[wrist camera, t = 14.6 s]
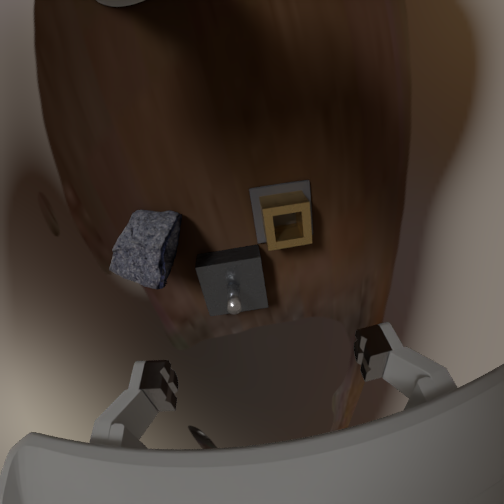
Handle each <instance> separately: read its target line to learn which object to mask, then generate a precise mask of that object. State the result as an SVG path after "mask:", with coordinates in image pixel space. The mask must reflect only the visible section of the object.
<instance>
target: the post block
mask: <svg viewBox="0 0 504 504" xmlns="http://www.w3.org/2000/svg"><path fill="white" fill-rule="evenodd" d="M195 268H196V272H197V275H198V279H199V282H200V285H201V288H202V292H203V295H204V298H205V301H206V304H207V308H208V311H209V314H210V316H215V315H222V314H229V313H230V314H238V313H240V312H242V311H248V310H255V309H261V308H267V307H268V302H267V295H266V289H265V282H264V276H263V270H262V263H261V257H260V252H259V247H258V244H257V245H251V246H245V247H239V248H233V249H228V250H222V251H216V252H210V253H204V254H198V255H197V261H196V267H195Z"/></svg>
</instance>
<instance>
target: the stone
mask: <svg viewBox="0 0 504 504" xmlns="http://www.w3.org/2000/svg"><path fill="white" fill-rule="evenodd" d="M181 219H182V214H181V215H180V214H179V213H177V212H174V211H165V212H154V211H148V210H136V211H135V212H134V213H133V214H132V216H131V218H130V221H129V223H128V225H127V226H126V227H125V229H124V231H123V232H122V234H121V235H120V236H119V238H118V240H117V242H116V244H115V245H114V248H113V249H112V250H113V258H112V261H111V265H110V270H111V271H112V272H114V273H115V274H117V275H120V276H121V277H123V278H125V279H129V280H131V281H134V282H137V283H139V284H141V285H143V286H145V287H150V288H154V289H161V288H163V287H165V286H166V285H165V284H167V283H166V280H167V278H168V276H169V274H170V271H171V267H172V266H173V262H174V259H175V257H176V252H177V246H178V239H179V233H180V226H181Z"/></svg>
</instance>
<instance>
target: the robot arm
mask: <svg viewBox="0 0 504 504" xmlns="http://www.w3.org/2000/svg"><path fill="white" fill-rule="evenodd" d="M96 1H98V2H99V3H101V4H103V5H107V6H112V7H122V6H128V5H133V4H136V3H139V2H142V1H144V0H96ZM355 337H356V339H357V340H356V341H355V342H354V354H355V358H356V361H357V363H359V364H360V365H361V369H360V371H361V373H362V376H363V378H364V381H365V382H366V381H370V380H374V379H377V378H381V377H383V379H385V380H386V381H387V382H388V383H390V384H391V385H392V386H394V387H395V388H396V389H397V390H399V391H400V392H401V393H403V394H404V395H405V396H406V397H408V398H409V401H408V403H407V405H406V407H405V409H404V411H401V412H398V413H395V414H392V415H390V416H386V417H383V418H380V419H377V420H374V421H370V422H367V423H364V424H360V425H356V426H353V427H349V428H345V429H341V430H337V431H333V432H329V433H325V434H320V435H315V436H310V437H305V438H300V439H294V440H288V441H282V442H275V443H268V444H260V445H252V446H242V447H232V448H216V449H184V450H174V449H148V448H147V447H146V446H145V445H144V444H143V443H142V442H140V441H139V439H140V438H141V436H142V435H143V434H144V432H145V431H146V429H147V428H148V427H149V425H150V424H151V422H152V421H153V419H154V418H155V417H156V415H157V414H158V411H175V410H176V403H177V398H176V396H175V393H176V392H177V391H178V378H177V375H176V373H175V371H174V370H172V369H171V364H170V362H169V360H154V361H153V360H152V361H136V363H135V364H134V367H133V371H132V375H131V379H130V383H129V388H128V390H125V391H124V392H123V393H122V394H121V395H120V396H119V397H118V398H117V399H116V400H115V401H114V402H113V403H112V404H111V405H110V406H109V407H108V408H107V409H106V410H105V411H104V412H103V413H102V414H101V415H100V416H99V417H98V418H97V419H96V420H95V423H94V427H93V431H92V435H91V439H90V443H85V442H80V441H74V440H68V439H63V438H58V437H53V436H49V435H45V434H41V433H36V432H31V433H29V434H28V435H26V436H25V437H23V438H22V439H21V440H20V441H19V442H18V443H16V444H15V445H14V446H13V447H12V449H11V450H10V451H9V453H8V455H7V458H6V460H5V463H4V466H3V469H2V472H1V476H0V504H504V364H502V365H501V366H499V367H497V368H495V369H494V370H492V371H490V372H488V373H487V374H485V375H483V376H481V377H479V378H477V379H475V380H473V381H471V382H469V383H467V384H465V385H463V386H461V387H459V388H457V386H456V384H455V383H454V381H453V379H452V377H451V375H450V374H449V372H448V370H447V369H446V368H445V367H444V366H442V365H440V364H438V363H436V362H434V361H433V360H431V359H429V358H427V357H425V356H423V355H422V354H420V353H418V352H416V351H414V350H412V349H410V348H408V347H404V346H403V345H402V343H401V341H400V339H399V338H398V336H397V334H396V332H395V331H394V329H393V327H392V326H391V324H390V323H389V322H385V323H381V324H378V325H373V326H369V327H365V328H362V329H358V330H356V333H355Z"/></svg>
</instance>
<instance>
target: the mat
mask: <svg viewBox="0 0 504 504" xmlns="http://www.w3.org/2000/svg"><path fill="white" fill-rule="evenodd" d="M300 190H301V191H302V192H303V193H304V195H305V196H306V198H307V199H308V200H309V202H310V214H311V229H312V234H313V222H312V207H311V194H310V182H309V180H303V181H296V182H289V183H282V184H275V185H269V186H262V187H256V188H250V189H249V191H250V197H251V204H252V210H253V216H254V222H255V228H256V234H257V241H258V243H264V242H266V238H265V234H264V227H263V220H262V214H261V207H260V200H259V197H261V196H267V195H274V194H280V193H287V192H294V191H300ZM273 223H274V226H280V225H286V224H292V223H297V222H296V212H295V213H289V214H282V215H276V216H273Z"/></svg>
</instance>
